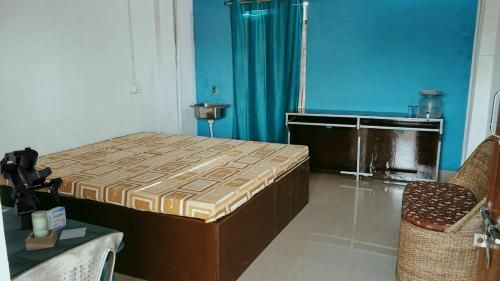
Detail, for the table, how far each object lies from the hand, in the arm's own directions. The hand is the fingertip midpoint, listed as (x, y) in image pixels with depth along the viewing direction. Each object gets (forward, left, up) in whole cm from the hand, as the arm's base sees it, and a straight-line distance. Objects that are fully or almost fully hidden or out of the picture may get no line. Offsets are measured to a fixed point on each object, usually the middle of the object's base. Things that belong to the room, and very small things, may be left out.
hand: (47, 204), depth 146 cm
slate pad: (+1, +9, -13) cm, 16 cm away
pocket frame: (+8, -1, -13) cm, 16 cm away
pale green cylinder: (+8, -1, -13) cm, 16 cm away
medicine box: (-9, +1, -14) cm, 16 cm away
